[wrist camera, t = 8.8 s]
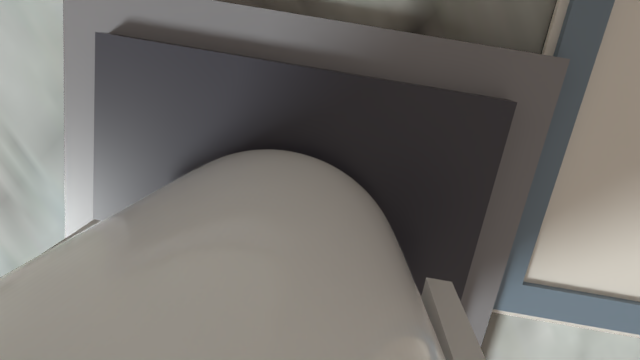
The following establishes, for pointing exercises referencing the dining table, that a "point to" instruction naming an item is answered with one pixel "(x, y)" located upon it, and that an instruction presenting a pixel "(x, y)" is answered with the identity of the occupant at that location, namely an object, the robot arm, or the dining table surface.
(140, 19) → the ink pad
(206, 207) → the candle holder
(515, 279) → the marked square
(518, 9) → the dining table surface
